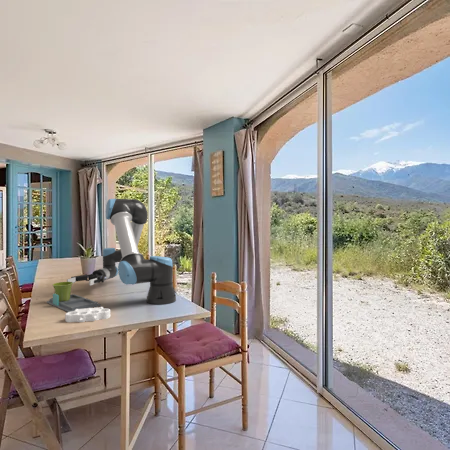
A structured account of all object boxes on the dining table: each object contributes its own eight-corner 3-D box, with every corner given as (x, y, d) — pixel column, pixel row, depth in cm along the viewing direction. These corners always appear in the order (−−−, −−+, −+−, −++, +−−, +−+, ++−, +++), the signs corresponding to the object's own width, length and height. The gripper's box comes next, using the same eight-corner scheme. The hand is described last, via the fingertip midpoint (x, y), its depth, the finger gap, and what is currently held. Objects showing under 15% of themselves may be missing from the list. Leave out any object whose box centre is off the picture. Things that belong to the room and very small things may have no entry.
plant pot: (64, 303, 163) (64, 285, 163) (48, 301, 165) (48, 284, 165) (77, 298, 172) (76, 282, 172) (61, 297, 174) (61, 281, 174)
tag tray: (100, 306, 160) (100, 294, 160) (69, 312, 149) (69, 300, 149) (76, 297, 178) (75, 286, 178) (46, 302, 167) (46, 291, 167)
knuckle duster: (110, 311, 152) (110, 321, 138) (68, 315, 147) (63, 325, 133) (110, 304, 152) (110, 313, 138) (68, 308, 146) (63, 317, 133)
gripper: (119, 282, 195) (99, 290, 175) (82, 280, 200) (58, 288, 179) (119, 269, 195) (99, 276, 174) (82, 268, 200) (58, 274, 179)
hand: (78, 282), depth 177 cm, fingers open, 13 cm apart
